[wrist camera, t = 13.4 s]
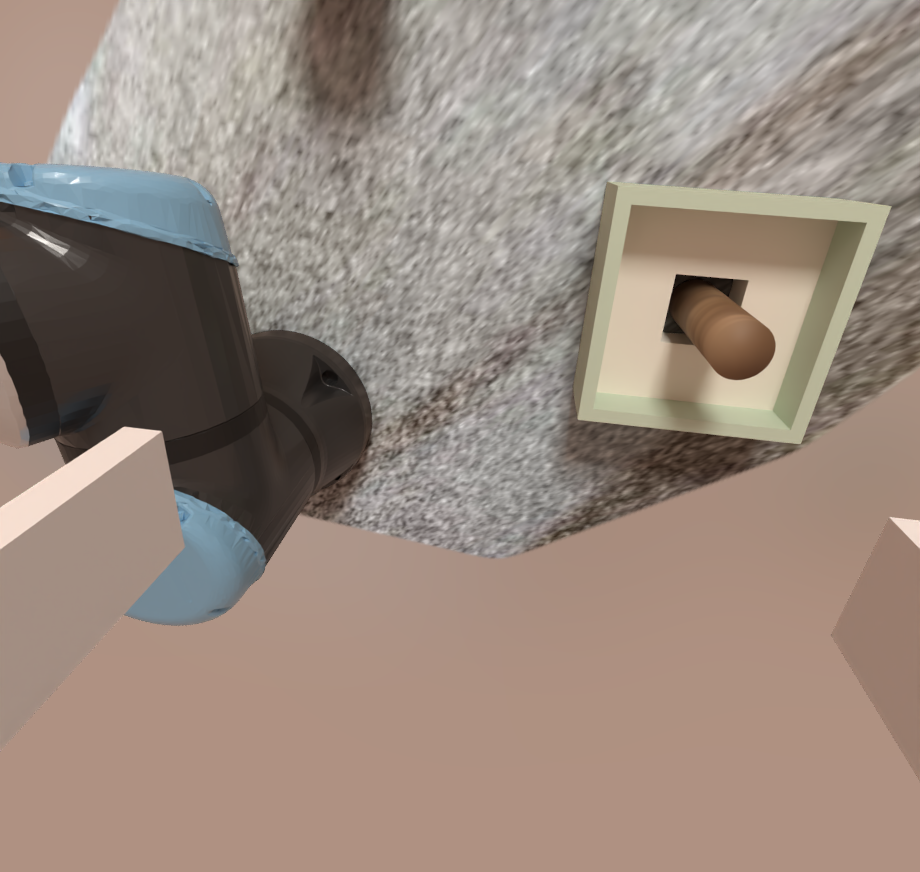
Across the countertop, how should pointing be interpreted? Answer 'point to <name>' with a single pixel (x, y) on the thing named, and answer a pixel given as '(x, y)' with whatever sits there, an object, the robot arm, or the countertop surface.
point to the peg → (722, 330)
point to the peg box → (754, 289)
